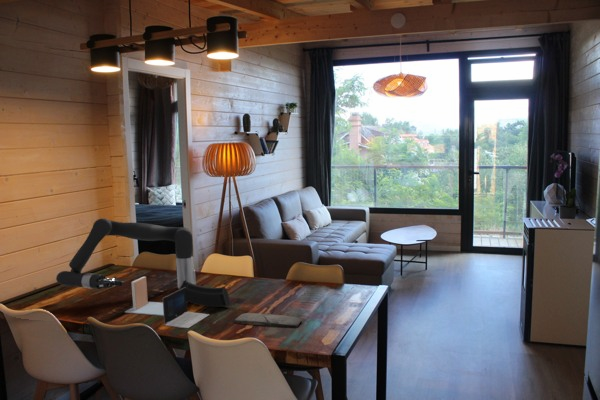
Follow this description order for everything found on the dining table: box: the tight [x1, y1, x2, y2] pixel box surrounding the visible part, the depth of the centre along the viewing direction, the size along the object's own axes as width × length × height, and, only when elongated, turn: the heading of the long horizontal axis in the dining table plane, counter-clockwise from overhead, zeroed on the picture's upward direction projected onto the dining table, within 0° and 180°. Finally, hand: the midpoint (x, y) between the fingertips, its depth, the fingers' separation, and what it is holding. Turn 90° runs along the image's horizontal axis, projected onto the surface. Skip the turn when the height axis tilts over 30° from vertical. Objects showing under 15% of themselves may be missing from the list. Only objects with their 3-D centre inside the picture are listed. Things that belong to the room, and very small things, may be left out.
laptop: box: [162, 287, 210, 329], centre depth 240 cm, size 18×12×13 cm
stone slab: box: [234, 312, 304, 329], centre depth 236 cm, size 10×3×30 cm
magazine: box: [178, 280, 232, 308], centre depth 262 cm, size 17×3×30 cm
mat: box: [124, 301, 164, 317], centre depth 259 cm, size 21×16×1 cm
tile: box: [131, 276, 149, 310], centre depth 260 cm, size 2×10×14 cm, turn 163°
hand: (122, 283), depth 262 cm, fingers closed
